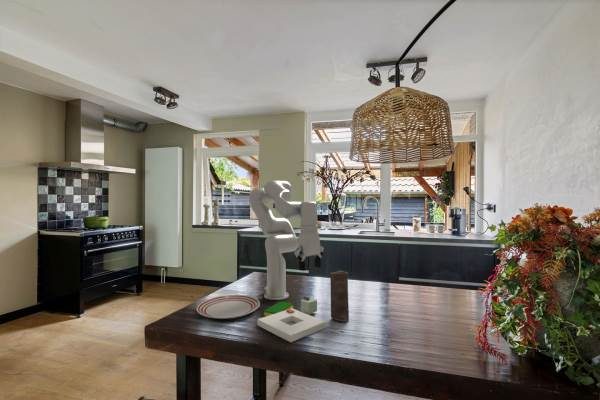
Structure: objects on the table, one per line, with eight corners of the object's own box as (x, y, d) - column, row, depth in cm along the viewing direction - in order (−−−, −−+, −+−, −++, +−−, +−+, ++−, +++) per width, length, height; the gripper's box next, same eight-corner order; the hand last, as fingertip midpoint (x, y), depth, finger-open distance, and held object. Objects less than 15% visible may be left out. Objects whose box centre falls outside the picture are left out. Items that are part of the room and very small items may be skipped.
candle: (334, 324, 122) (334, 274, 122) (327, 317, 129) (327, 270, 129) (351, 322, 124) (351, 272, 124) (344, 315, 131) (344, 268, 131)
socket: (257, 325, 121) (257, 317, 121) (291, 313, 134) (291, 306, 134) (290, 342, 107) (290, 333, 107) (325, 327, 119) (325, 319, 119)
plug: (300, 312, 135) (300, 297, 135) (308, 309, 138) (308, 294, 138) (308, 316, 131) (308, 299, 131) (317, 313, 134) (317, 297, 134)
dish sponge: (293, 308, 141) (293, 303, 141) (277, 319, 129) (277, 313, 129) (280, 306, 144) (280, 301, 144) (263, 316, 132) (263, 310, 132)
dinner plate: (254, 324, 123) (254, 315, 123) (186, 323, 124) (186, 315, 124) (263, 301, 151) (263, 294, 151) (208, 301, 151) (208, 294, 151)
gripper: (316, 228, 144) (317, 264, 143) (288, 230, 132) (289, 270, 131) (328, 228, 138) (329, 266, 138) (300, 231, 126) (301, 273, 126)
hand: (310, 268), depth 134 cm, fingers open, 9 cm apart
